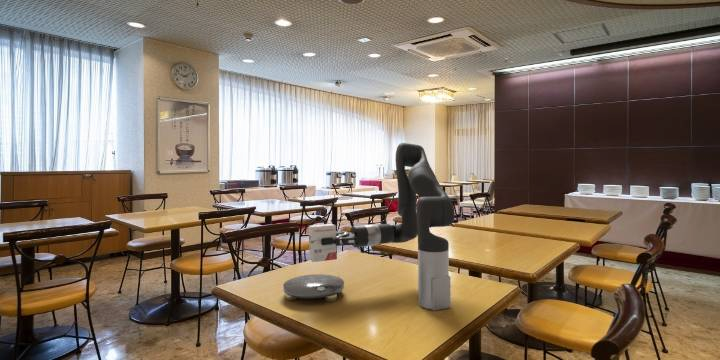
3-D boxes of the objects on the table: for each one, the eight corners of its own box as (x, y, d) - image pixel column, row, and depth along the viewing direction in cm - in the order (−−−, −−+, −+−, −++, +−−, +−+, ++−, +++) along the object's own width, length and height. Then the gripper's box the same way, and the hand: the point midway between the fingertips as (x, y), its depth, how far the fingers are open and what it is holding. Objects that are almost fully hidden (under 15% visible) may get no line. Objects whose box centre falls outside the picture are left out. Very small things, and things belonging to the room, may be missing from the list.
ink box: (333, 256, 133) (332, 222, 133) (337, 259, 129) (336, 225, 128) (309, 259, 130) (308, 224, 130) (312, 262, 126) (311, 227, 125)
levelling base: (353, 300, 122) (352, 285, 121) (291, 310, 114) (290, 294, 114) (332, 282, 140) (332, 269, 140) (278, 290, 132) (277, 276, 132)
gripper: (357, 222, 141) (313, 226, 135) (373, 228, 128) (325, 233, 122) (358, 242, 142) (313, 246, 135) (373, 250, 129) (325, 256, 122)
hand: (319, 240), depth 129 cm, fingers closed on ink box, 5 cm apart
